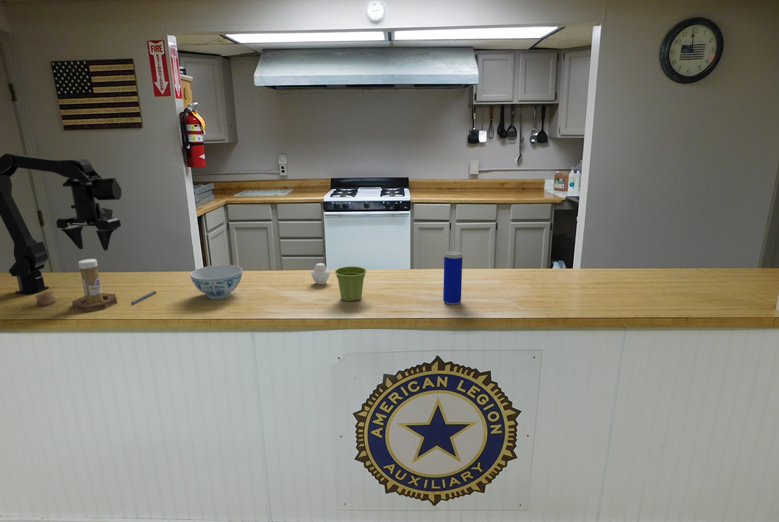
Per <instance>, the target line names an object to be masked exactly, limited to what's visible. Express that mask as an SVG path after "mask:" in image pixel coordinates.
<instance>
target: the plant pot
mask: <svg viewBox="0 0 779 522" xmlns="http://www.w3.org/2000/svg"><path fill="white" fill-rule="evenodd" d="M334 273H335V275H336V278H337V281H338V287H339V293H340V298H341V300H342V301H344V300H345V301H346V302H352V301H355V300H357V301H359V299H360V298H361V299H362V297H363V295H362V294H363V288H364V287H363V286H364V279H365V276H366V273H367V268H364V267H361V266H354V265H352V266H342V267H339V268H337V269H335V270H334ZM361 299H360V300H361Z"/></svg>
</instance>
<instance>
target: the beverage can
mask: <svg viewBox="0 0 779 522" xmlns="http://www.w3.org/2000/svg"><path fill="white" fill-rule="evenodd" d="M462 279H463V253H462V252H461V251H458V250H447V251H446V252H445V253H444V256H443V293H442V294H443V296H442V299H443V300H442V301H443V302H444V303H445V304H446V303H447V304H446V305H449V304H452V305H451V306H454V305H453V304H457V305H458V304H460V303H461V302H462V284H463V283H462Z"/></svg>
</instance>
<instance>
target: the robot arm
mask: <svg viewBox="0 0 779 522" xmlns="http://www.w3.org/2000/svg"><path fill="white" fill-rule="evenodd" d="M18 169H25V170H26V169H27V170H33V171H39V172H41V171H42V172H48V173H54V174H57V175H60V177H64V178H66V180H65V182H64V183H62V187H63V188H64V187H65V188H66V187H67V188H70V191H71V195H72V196H71V197H72V202H73V204H70V208H71V209H74V212H75V216H74V215H73V216H66V217H60V218H57V220H56V222H55V224H56V228H57V229H60V231H62V232H63V233H64V234H66V236H67V237H68V238H69V239H70V240H71V241H72V242H73V244H74V245H75V247H77V248H78V250H83V249H84V245H83V235H82V230H83V228H84V227H95V228H97V230H95V232H96V234H97V237H98V241H99V242H100V244H101V247H102V249H103V251H105V252H106V251H108V249H109V245H110V241H111V237H112V234H113V232H114V231H115V230H118V228H120V227H122V225H121V220H120V219H119V218H118V217H113V212H114V210H113V209H109V208H105V207H101V205H100V202H96V200H98V201H119V200H121V198H122V187H121V185H120V184H119V182H118V181H117V178H116V177H108V178H103V177H102V176H101V175H100V174H99V173H98V172H97V171H96V170H95V168H93V165H92V163H91V162H90V161H89V160H88V159H85V158H67V159H56V158H50V157H41V156H36V155H27V154H20V153H18V152H9V153H4V154H3V155H1V156H0V219H1V220H2V222H3V224H4V226H5V229H6V230H7V232H8V234H9V237H10V238H11V240H12V242H13V257H14V260H15V262H14V263H13V265H12V266H11V267H10V268H8V273H9V274H10V275H11V277H16V279H17V284H18V289H19V290H15V291H14V292H15V293H16V294H22V295H23V294H26V295H33V294H36V293H39V292H41V291H44V290H47V289H49V288H50V286H48V285H47V286H46V285H45V281H44V277H43V275H42V271H41V270H43V269H45V266H46V263H47V262H48V259H49V255H48V254H49V251H48V250H47V248H46V245H45V243H44V241H39V242H38V241H36V239H34V238H33V237H32V234H31V233H30V230H29V229H28V227H27V224H26V222H25V219H24V218H23V216H22V214H21V212H20V210H19V208H18V206H17V204H16V201H15V199H14V197H13V195H12V188H13V183H12V179H11V177H13V176H14V175H15V174H16V173H17V171H18ZM15 293H14V294H15Z"/></svg>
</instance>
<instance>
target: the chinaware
mask: <svg viewBox="0 0 779 522" xmlns="http://www.w3.org/2000/svg"><path fill="white" fill-rule="evenodd" d="M189 276H190V279H191V281H192V282H193V284H194V286H195V288H196V289H197V290H198V291H200V292H201V293H202V294H204V295H207V298H208V299H211V300H221V299H225V298H228V297H230V296H231V294H232V292H233V291H234V290H236V288H238V285H239V284H240V282H241V280H242V276H243V268H242V267H240V265H239V266H238V265H234V264H217V265H209V266H205V267H204V266H203V267H200V268H197V269H195V270H193V271H191V272H190V274H189Z"/></svg>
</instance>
